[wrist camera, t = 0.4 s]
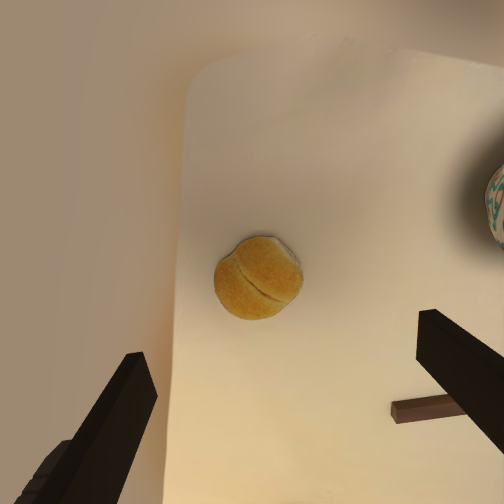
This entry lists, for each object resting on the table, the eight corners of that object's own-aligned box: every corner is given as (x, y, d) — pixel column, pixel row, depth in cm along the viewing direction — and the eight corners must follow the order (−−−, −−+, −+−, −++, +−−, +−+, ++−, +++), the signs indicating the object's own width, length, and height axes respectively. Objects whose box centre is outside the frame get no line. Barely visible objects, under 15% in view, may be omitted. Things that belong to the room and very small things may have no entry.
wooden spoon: (392, 389, 33) (398, 398, 31) (560, 365, 32) (574, 374, 31) (390, 427, 35) (396, 437, 33) (549, 406, 34) (561, 415, 33)
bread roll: (201, 277, 27) (194, 295, 23) (262, 220, 25) (265, 229, 22) (253, 325, 29) (255, 348, 25) (313, 275, 27) (325, 291, 24)
